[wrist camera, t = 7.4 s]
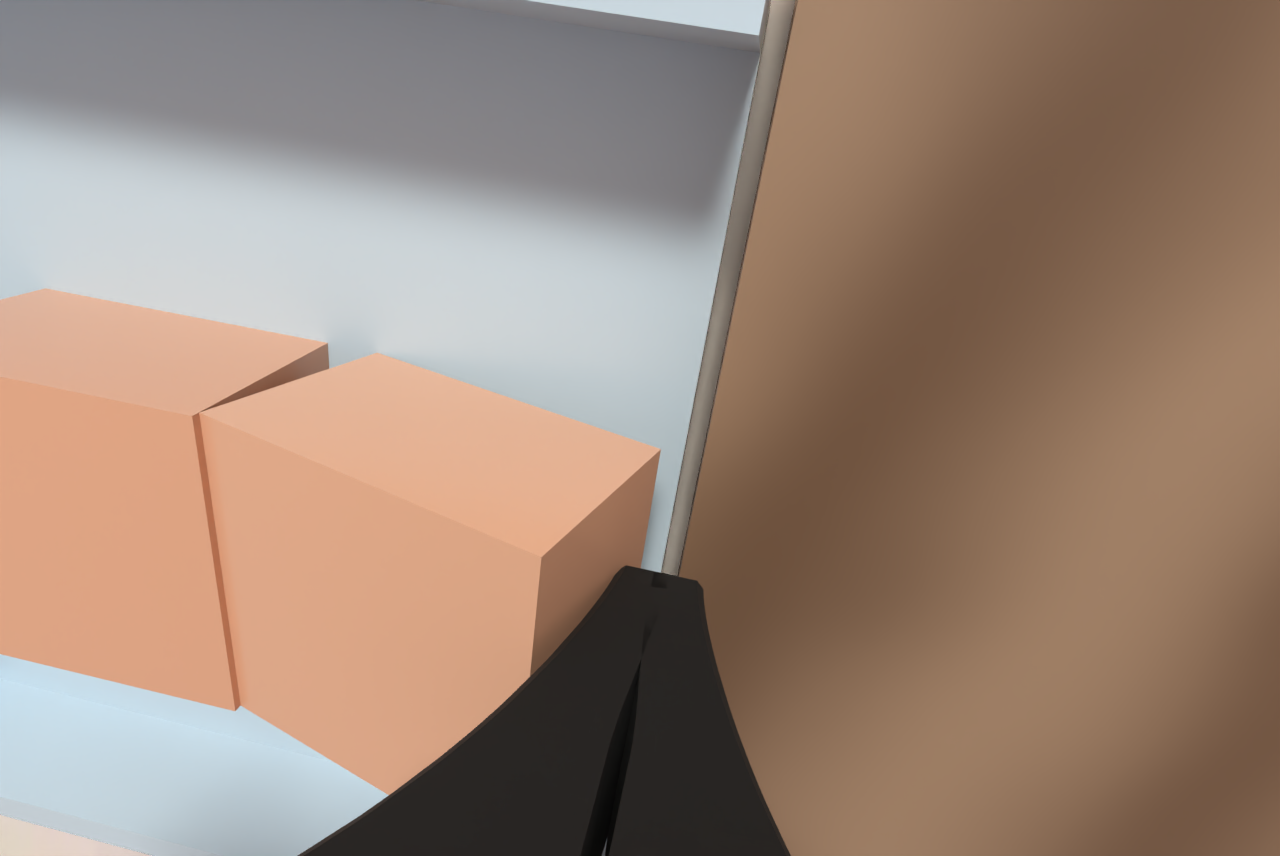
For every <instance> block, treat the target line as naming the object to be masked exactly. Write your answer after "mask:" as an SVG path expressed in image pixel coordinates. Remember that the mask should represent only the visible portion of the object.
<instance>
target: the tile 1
mask: <svg viewBox="0 0 1280 856" xmlns="http://www.w3.org/2000/svg"><path fill="white" fill-rule="evenodd" d="M327 369H329V355H328V343H326V342H321V341H316V340H311V339H305V338H300V337H295V336H290V335H285V334H279V333H274V332H269V331H264V330H259V329H254V328H248V327H243V326H238V325H233V324H228V323H223V322H217V321H212V320H207V319H202V318H197V317H191V316H186V315H181V314H176V313H171V312H166V311H160V310H155V309H150V308H145V307H140V306H135V305H129V304H124V303H119V302H114V301H109V300H103V299H98V298H93V297H88V296H83V295H78V294H72V293H67V292H62V291H57V290H52V289H47V288H45V289H41V290H37V291H33V292H29V293H25V294H21V295H17V296H13V297H9V298H5V299H1V300H0V654H2V655H6V656H10V657H14V658H18V659H22V660H26V661H31V662H35V663H39V664H43V665H47V666H51V667H55V668H59V669H63V670H67V671H72V672H76V673H80V674H84V675H88V676H92V677H96V678H100V679H104V680H108V681H113V682H117V683H121V684H125V685H129V686H133V687H137V688H141V689H145V690H150V691H154V692H158V693H162V694H166V695H170V696H174V697H178V698H182V699H186V700H191V701H195V702H199V703H203V704H207V705H211V706H215V707H219V708H223V709H228V710H232V711H236V710H237V709H238V708H239V707H240V706H241V705H240V698H239V691H238V683H237V676H236V669H235V662H234V655H233V648H232V641H231V634H230V627H229V620H228V613H227V606H226V599H225V592H224V585H223V578H222V571H221V564H220V557H219V549H218V542H217V535H216V528H215V521H214V514H213V507H212V500H211V493H210V486H209V479H208V472H207V465H206V458H205V451H204V444H203V437H202V430H201V423H200V415H199V412H202V411H205V410H208V409H211V408H214V407H217V406H220V405H223V404H226V403H229V402H232V401H235V400H238V399H241V398H244V397H247V396H250V395H253V394H256V393H259V392H262V391H265V390H268V389H271V388H274V387H277V386H280V385H283V384H285V383H288V382H291V381H294V380H297V379H300V378H303V377H306V376H309V375H312V374H315V373H318V372H321V371H324V370H327Z"/></svg>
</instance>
